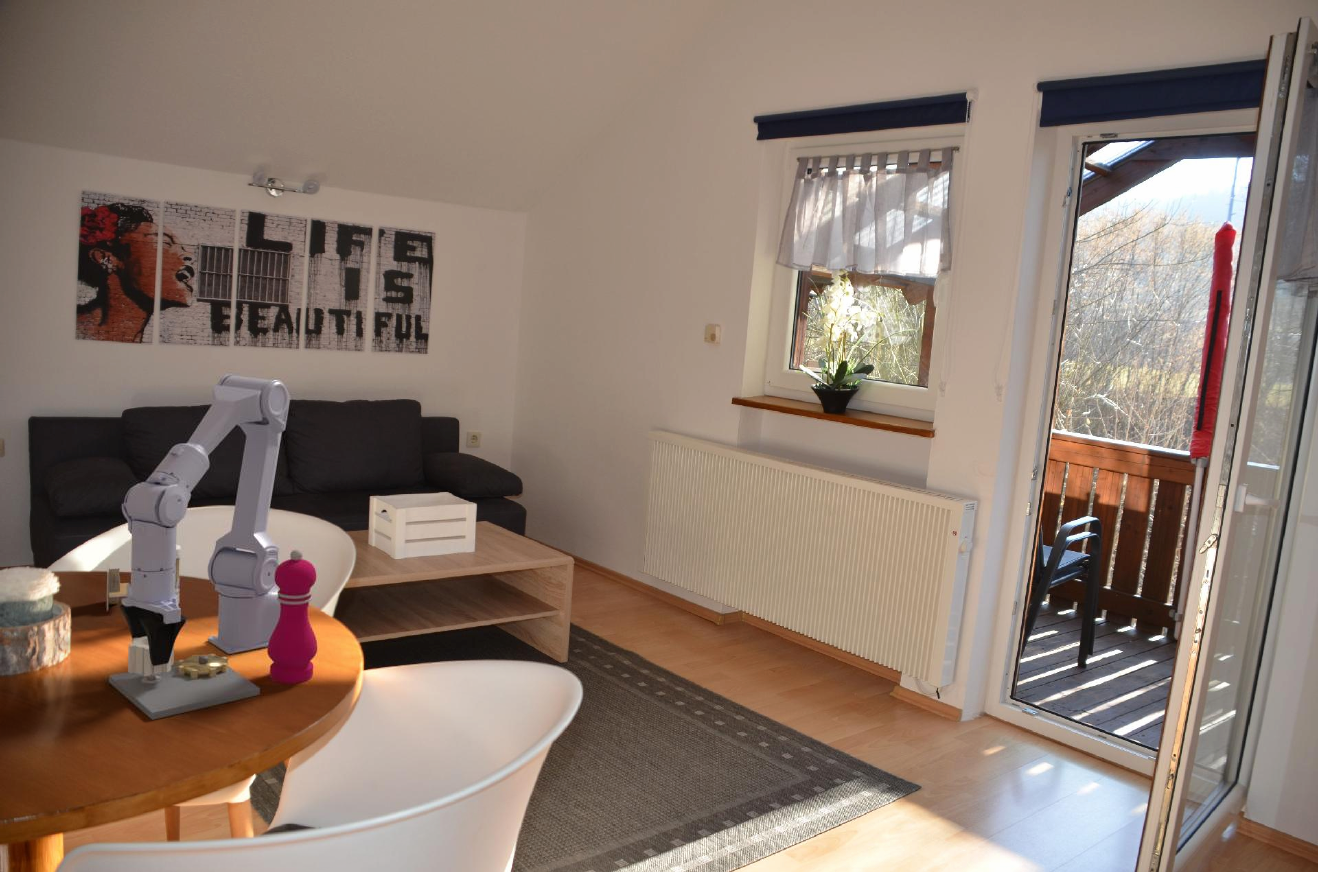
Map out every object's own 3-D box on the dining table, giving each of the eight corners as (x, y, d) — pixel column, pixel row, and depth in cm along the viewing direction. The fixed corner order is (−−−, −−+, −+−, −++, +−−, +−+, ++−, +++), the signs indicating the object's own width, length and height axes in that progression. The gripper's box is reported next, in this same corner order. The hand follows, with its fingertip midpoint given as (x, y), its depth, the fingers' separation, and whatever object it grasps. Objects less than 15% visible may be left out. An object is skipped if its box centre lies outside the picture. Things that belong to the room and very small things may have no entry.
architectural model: (128, 602, 183) (129, 562, 182) (129, 614, 177) (129, 573, 176) (106, 603, 182) (107, 563, 181) (106, 615, 176) (107, 574, 175)
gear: (164, 657, 151) (165, 632, 151) (180, 669, 148) (180, 643, 147) (121, 666, 147) (122, 639, 146) (136, 678, 143) (137, 651, 143)
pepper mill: (269, 687, 151) (274, 556, 149) (263, 669, 158) (268, 544, 155) (319, 682, 155) (325, 555, 152) (312, 665, 161) (317, 542, 158)
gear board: (211, 661, 159) (212, 639, 159) (259, 694, 148) (260, 671, 148) (108, 681, 148) (109, 658, 148) (152, 719, 137) (152, 695, 137)
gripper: (105, 557, 147) (103, 647, 149) (144, 583, 137) (142, 678, 139) (155, 551, 152) (153, 638, 154) (196, 575, 143) (194, 668, 144)
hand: (151, 657), depth 147 cm, fingers closed on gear, 6 cm apart
